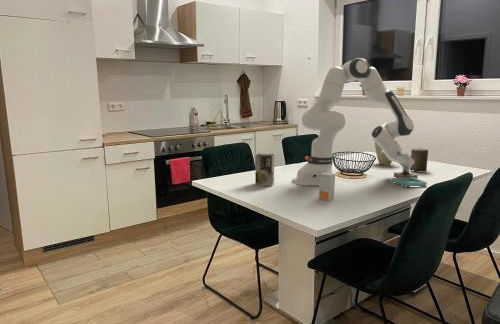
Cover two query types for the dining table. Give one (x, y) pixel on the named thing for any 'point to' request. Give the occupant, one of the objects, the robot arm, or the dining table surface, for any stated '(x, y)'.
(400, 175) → the walnut collar
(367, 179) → the dining table surface
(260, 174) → the coffee box
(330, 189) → the skincare box
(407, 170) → the metal peg
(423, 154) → the pillar candle
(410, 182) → the teal tray
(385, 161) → the plant pot
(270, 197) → the dining table surface
